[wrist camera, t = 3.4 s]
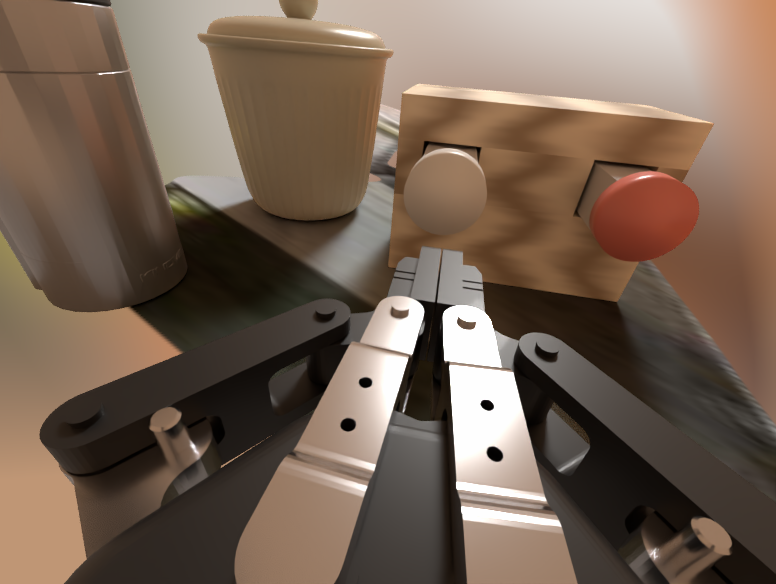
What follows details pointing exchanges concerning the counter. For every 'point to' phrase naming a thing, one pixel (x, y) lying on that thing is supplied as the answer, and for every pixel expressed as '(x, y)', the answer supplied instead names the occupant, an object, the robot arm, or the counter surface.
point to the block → (535, 179)
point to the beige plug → (446, 189)
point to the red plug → (636, 210)
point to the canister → (300, 107)
